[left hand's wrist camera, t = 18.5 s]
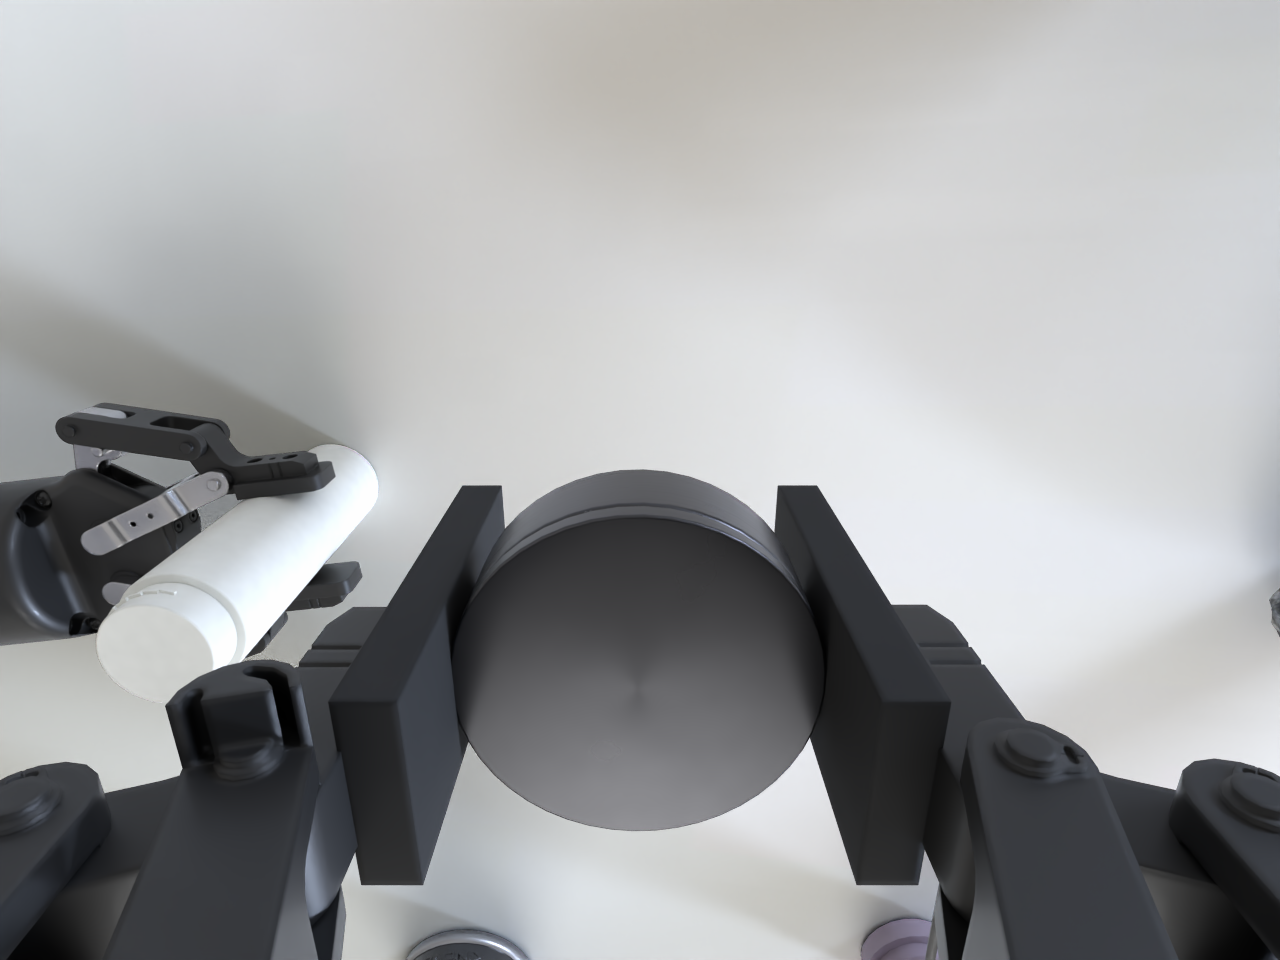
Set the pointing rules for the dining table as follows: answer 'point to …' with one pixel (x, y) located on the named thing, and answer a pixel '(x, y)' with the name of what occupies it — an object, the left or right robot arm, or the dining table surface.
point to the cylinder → (231, 582)
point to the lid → (638, 653)
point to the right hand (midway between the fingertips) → (340, 527)
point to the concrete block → (1276, 610)
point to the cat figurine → (898, 941)
